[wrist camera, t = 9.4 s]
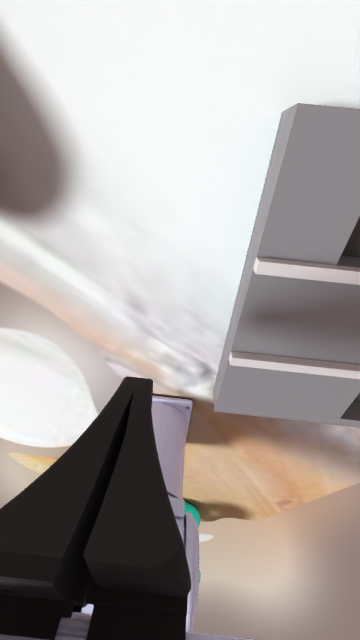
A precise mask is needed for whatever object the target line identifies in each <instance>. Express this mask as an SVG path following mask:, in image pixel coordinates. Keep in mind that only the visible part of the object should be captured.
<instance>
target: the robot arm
mask: <svg viewBox="0 0 360 640" xmlns="http://www.w3.org/2000/svg"><path fill="white" fill-rule="evenodd" d="M152 394H153V381H152V380H151V379H145V378H136V377H125V378H124V379H123V381H122V383H121V384H120V386H119V388H118V389H117V391H116V392H115V394H114V395H113V397H112V398H111V399H110V401H109V402H108V403H107V405H106V406H105V407H104V409H103V410H102V412H101V413H100V414H99V415H98V416H97V418H96V419H95V420H94V421H93V422H92V424H91V425H90V426H89V427H88V428H87V430H86V431H85V432H84V433H83V434H82V435H81V436H80V437H79V438H78V440H77V441H76V442H75V443H74V444H73V445H72V446H71V447H70V448H69V449H68V450H67V451H66V452H65V453H64V454H63V455H62V456H61V457H60V458H59V459H58V460H57V461H56V462H55V463H54V464H53V465H52V466H50V467H49V468H48V469H47V470H46V471H45V472H44V473H43V474H42V475H40V476H39V477H38V478H37V479H36V480H35V481H34V482H33V483H31V484H30V485H29V486H28V487H27V488H25V489H24V491H22V492H21V493H20V494H18V495H17V496H16V497H15V498H13V499H12V500H11V501H10V502H8V503H7V504H6V505H4V506H3V507H2V508H1V509H0V640H255V639H247V638H238V637H229V636H220V635H212V634H202V633H195V632H193V626H194V618H195V616H196V609H197V601H198V587H199V534H198V526H197V523H196V521H195V520H194V518H193V516H192V514H191V513H186V512H185V514H184V505H185V500H184V499H182V493H183V473H184V452H185V444H186V438H187V433H188V427H189V422H190V416H191V411H192V405H193V402H192V401H191V400H188V399H179V398H170V397H161V396H152Z"/></svg>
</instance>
